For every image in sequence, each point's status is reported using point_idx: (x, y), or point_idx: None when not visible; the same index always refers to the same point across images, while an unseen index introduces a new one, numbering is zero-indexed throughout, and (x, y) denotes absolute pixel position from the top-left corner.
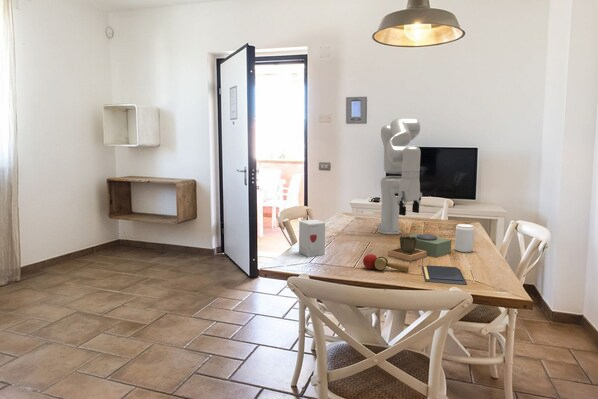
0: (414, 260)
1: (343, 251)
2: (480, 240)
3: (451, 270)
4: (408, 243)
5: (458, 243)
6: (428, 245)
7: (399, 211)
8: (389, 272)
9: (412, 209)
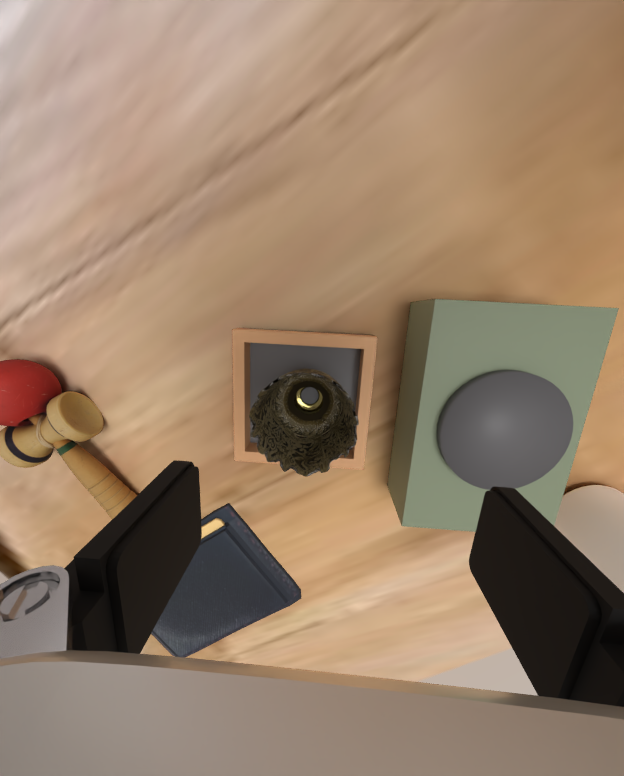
0: None
1: (121, 79)
2: None
3: (233, 608)
4: (267, 443)
5: (575, 536)
6: (404, 471)
7: (152, 489)
8: None
9: (507, 513)
